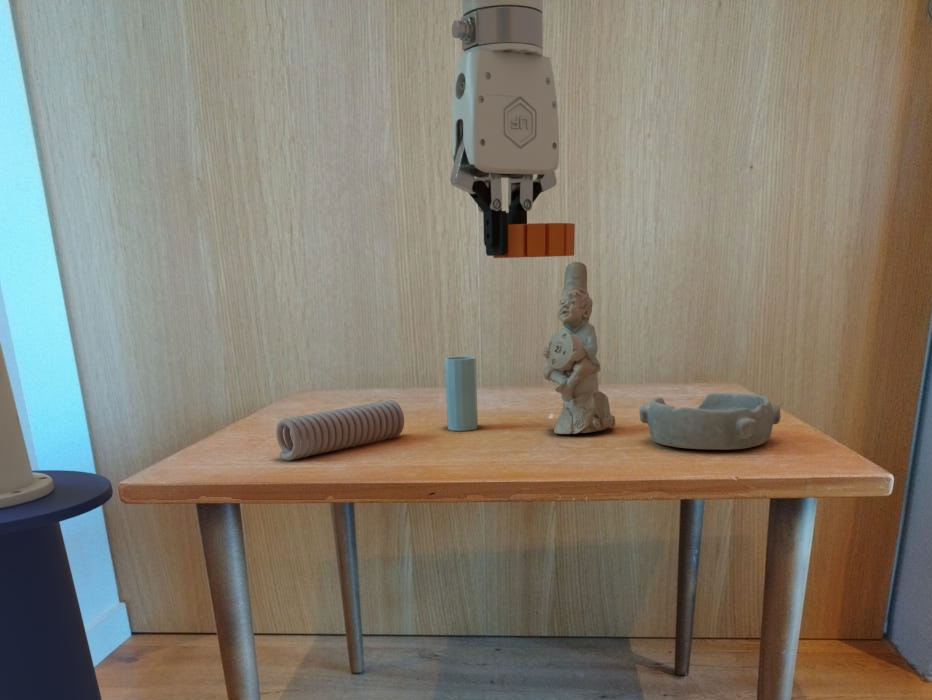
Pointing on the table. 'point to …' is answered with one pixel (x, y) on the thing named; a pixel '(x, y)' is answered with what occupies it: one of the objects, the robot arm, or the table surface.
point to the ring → (540, 240)
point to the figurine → (577, 360)
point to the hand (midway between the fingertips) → (505, 253)
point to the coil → (339, 429)
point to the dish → (713, 422)
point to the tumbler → (461, 393)
